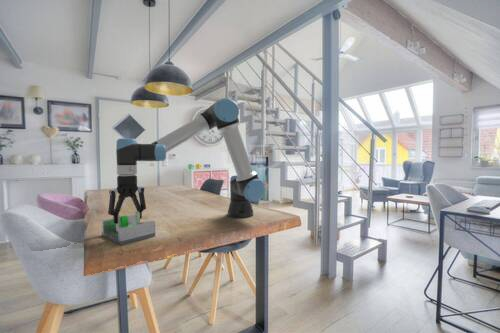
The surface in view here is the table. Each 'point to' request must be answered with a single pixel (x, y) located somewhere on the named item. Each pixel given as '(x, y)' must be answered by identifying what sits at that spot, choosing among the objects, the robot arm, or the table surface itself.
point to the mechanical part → (124, 221)
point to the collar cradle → (128, 230)
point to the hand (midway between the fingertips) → (128, 228)
